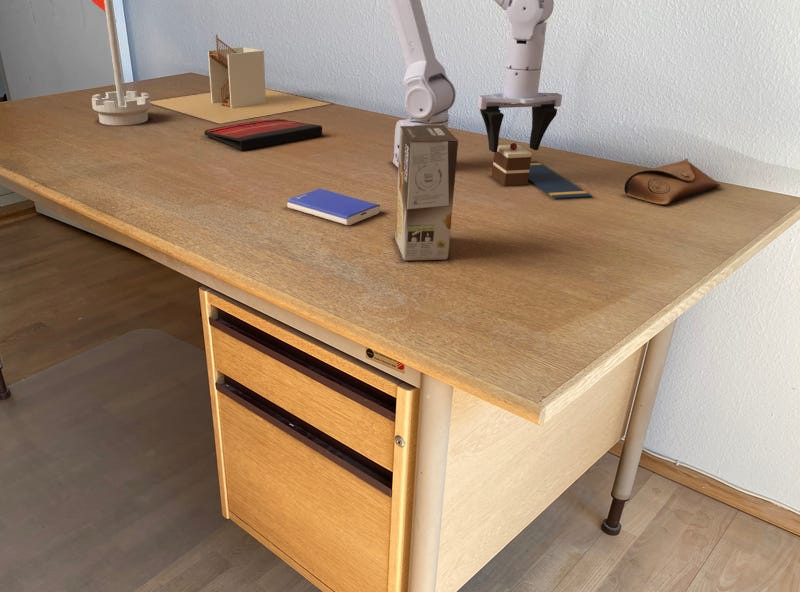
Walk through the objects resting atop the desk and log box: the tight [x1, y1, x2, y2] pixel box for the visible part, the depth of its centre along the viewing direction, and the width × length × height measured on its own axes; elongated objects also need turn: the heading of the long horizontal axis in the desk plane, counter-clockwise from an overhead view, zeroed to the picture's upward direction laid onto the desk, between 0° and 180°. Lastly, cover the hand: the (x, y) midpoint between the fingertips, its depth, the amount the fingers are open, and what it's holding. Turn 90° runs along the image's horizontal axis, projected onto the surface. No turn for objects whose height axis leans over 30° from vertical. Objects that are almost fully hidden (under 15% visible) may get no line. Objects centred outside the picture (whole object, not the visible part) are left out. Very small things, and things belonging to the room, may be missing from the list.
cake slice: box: [491, 142, 533, 187], centre depth 131 cm, size 4×6×7 cm
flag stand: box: [91, 0, 152, 126], centre depth 165 cm, size 13×13×30 cm
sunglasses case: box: [623, 158, 721, 206], centre depth 128 cm, size 18×7×7 cm
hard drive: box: [287, 188, 381, 226], centre depth 117 cm, size 2×8×12 cm
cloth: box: [528, 160, 592, 200], centre depth 134 cm, size 6×22×1 cm, turn 11°
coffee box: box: [394, 125, 459, 261], centre depth 100 cm, size 9×6×16 cm
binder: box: [203, 118, 323, 152], centre depth 160 cm, size 16×2×21 cm
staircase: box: [207, 34, 267, 109], centre depth 187 cm, size 9×11×17 cm
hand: (513, 149), depth 130 cm, fingers open, 7 cm apart
